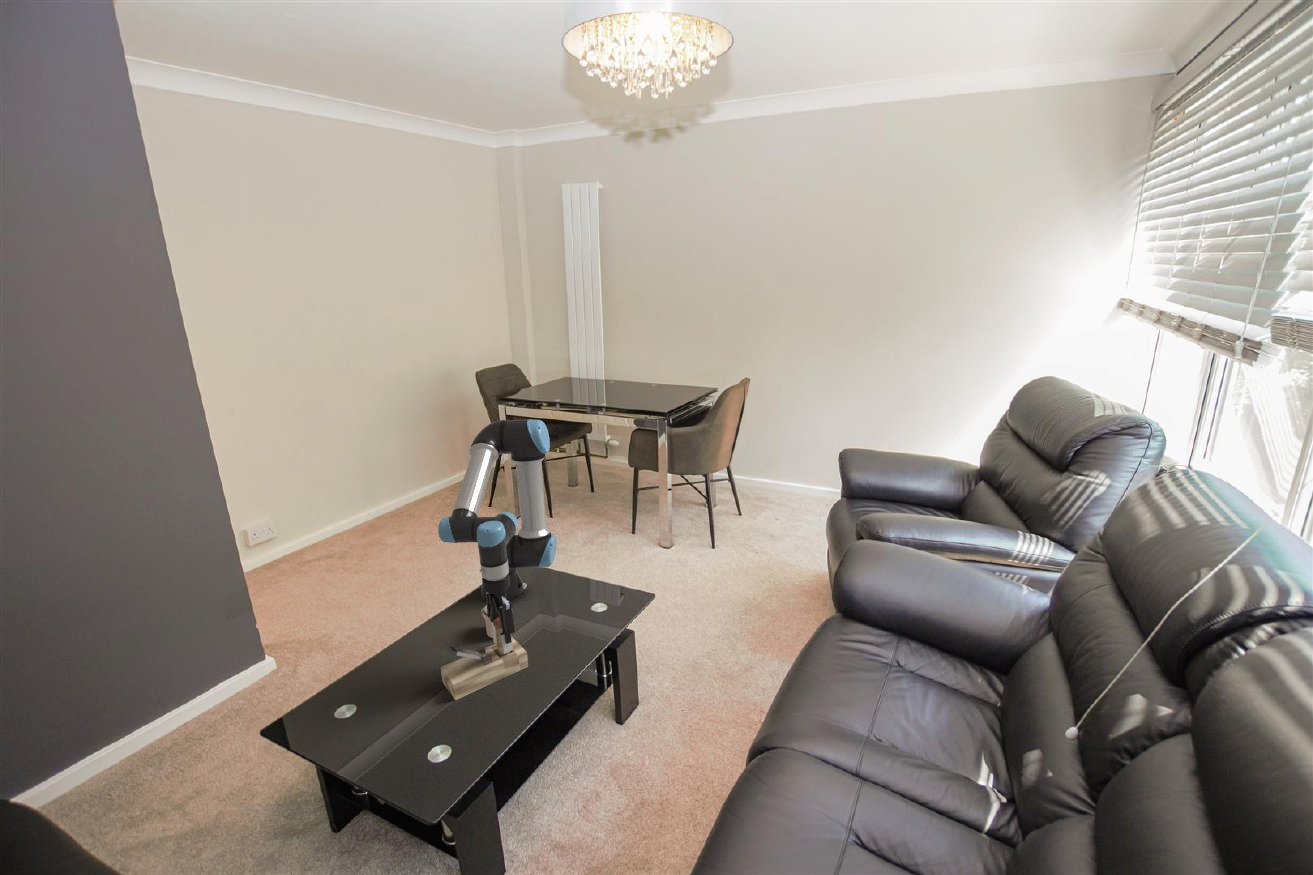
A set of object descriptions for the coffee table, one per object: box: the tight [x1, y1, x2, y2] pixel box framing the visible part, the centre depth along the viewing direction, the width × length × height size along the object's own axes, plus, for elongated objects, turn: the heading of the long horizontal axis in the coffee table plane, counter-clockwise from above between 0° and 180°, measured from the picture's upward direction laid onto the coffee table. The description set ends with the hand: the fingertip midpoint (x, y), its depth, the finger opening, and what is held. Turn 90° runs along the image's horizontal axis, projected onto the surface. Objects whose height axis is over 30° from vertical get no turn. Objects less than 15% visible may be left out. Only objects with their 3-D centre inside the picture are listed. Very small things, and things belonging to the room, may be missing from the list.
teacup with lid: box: [481, 600, 510, 639], centre depth 190 cm, size 12×9×12 cm
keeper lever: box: [446, 645, 486, 660], centre depth 165 cm, size 3×12×1 cm
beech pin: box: [493, 618, 510, 658], centre depth 172 cm, size 4×4×15 cm
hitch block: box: [440, 637, 529, 701], centre depth 169 cm, size 10×22×7 cm, turn 129°
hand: (503, 645), depth 172 cm, fingers open, 6 cm apart
